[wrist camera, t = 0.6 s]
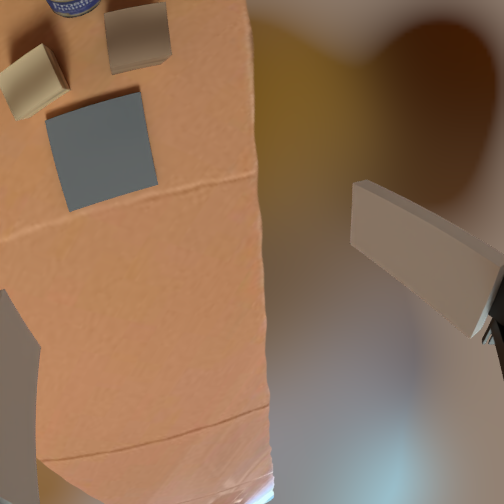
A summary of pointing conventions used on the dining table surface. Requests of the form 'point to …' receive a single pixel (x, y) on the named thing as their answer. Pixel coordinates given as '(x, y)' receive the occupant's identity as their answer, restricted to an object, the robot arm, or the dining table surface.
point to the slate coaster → (102, 151)
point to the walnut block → (137, 37)
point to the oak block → (32, 82)
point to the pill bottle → (72, 7)
